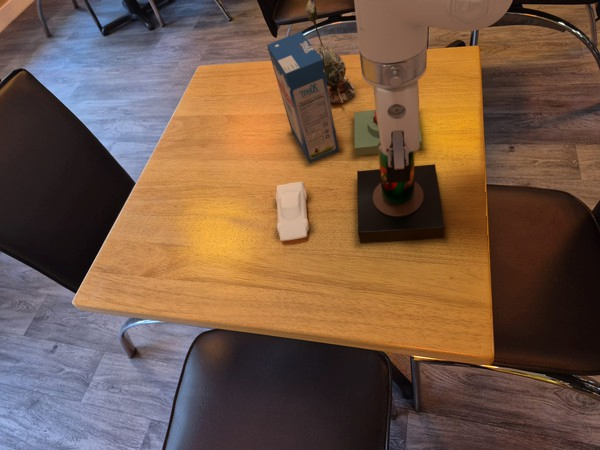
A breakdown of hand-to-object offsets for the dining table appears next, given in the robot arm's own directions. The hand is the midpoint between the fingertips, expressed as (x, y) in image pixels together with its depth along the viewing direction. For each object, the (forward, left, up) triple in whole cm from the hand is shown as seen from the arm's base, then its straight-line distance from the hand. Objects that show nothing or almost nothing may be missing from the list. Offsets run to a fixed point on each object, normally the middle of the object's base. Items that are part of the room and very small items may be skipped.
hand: (397, 165), depth 65 cm
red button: (+1, -18, -7) cm, 19 cm away
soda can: (0, 0, -7) cm, 7 cm away
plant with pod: (+11, -32, -11) cm, 35 cm away
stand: (0, 0, -11) cm, 11 cm away
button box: (+1, -18, -11) cm, 21 cm away
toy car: (+18, 0, -11) cm, 21 cm away
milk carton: (+15, -18, -11) cm, 26 cm away
